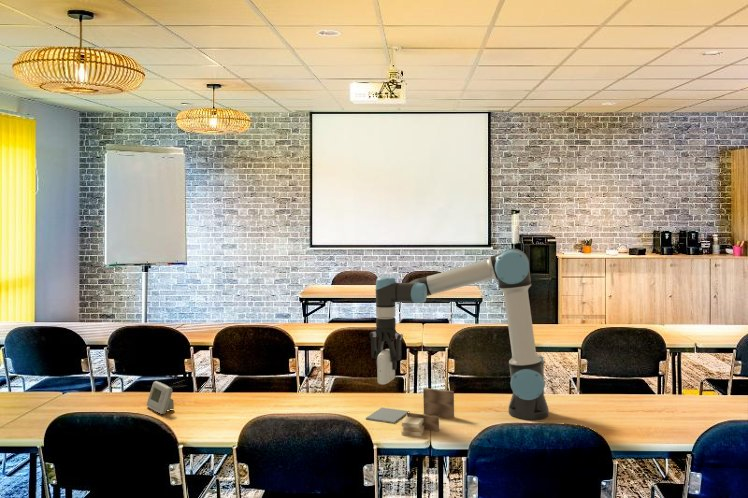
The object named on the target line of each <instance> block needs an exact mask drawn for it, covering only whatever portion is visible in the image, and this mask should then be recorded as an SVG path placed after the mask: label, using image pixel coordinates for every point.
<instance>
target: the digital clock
mask: <svg viewBox="0 0 748 498" xmlns="http://www.w3.org/2000/svg"><path fill="white" fill-rule="evenodd" d="M172 393H173V388H172V387H171V386H169V385H167V384H165V383H162V382H160V381H158V380H155V381H153V383H152V386H151V388H150V392H149V395H148V399H147V401H146V407H147V408H148V409H150V410H152V409H153V410H154V411H153V410H152V411H153V412H155V411H156V412H155V413H157V412H158V413H160V414H159V415H161V414H164V415H165V414H166V413H167V412H166V411H167V410H170V409H174V410H175V407H174V406H175V403H174V399H173V398H171V397H172ZM158 413H157V414H158Z"/></svg>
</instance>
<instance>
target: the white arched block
mask: <svg viewBox="0 0 748 498" xmlns="http://www.w3.org/2000/svg"><path fill="white" fill-rule="evenodd" d="M390 361H392V360H391V355H390V350H389V348H385V349H383V350H382V351H381V352H380V354H379V355H378V357H377V368H376V369H377V370H376V371H377V372H376V373H377V378H376V379H377V384H378V385H386V384H389V383H390V382H392V381H393V380H394V379H395V378H396V376H395V377H394V378H392V379H390Z"/></svg>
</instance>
